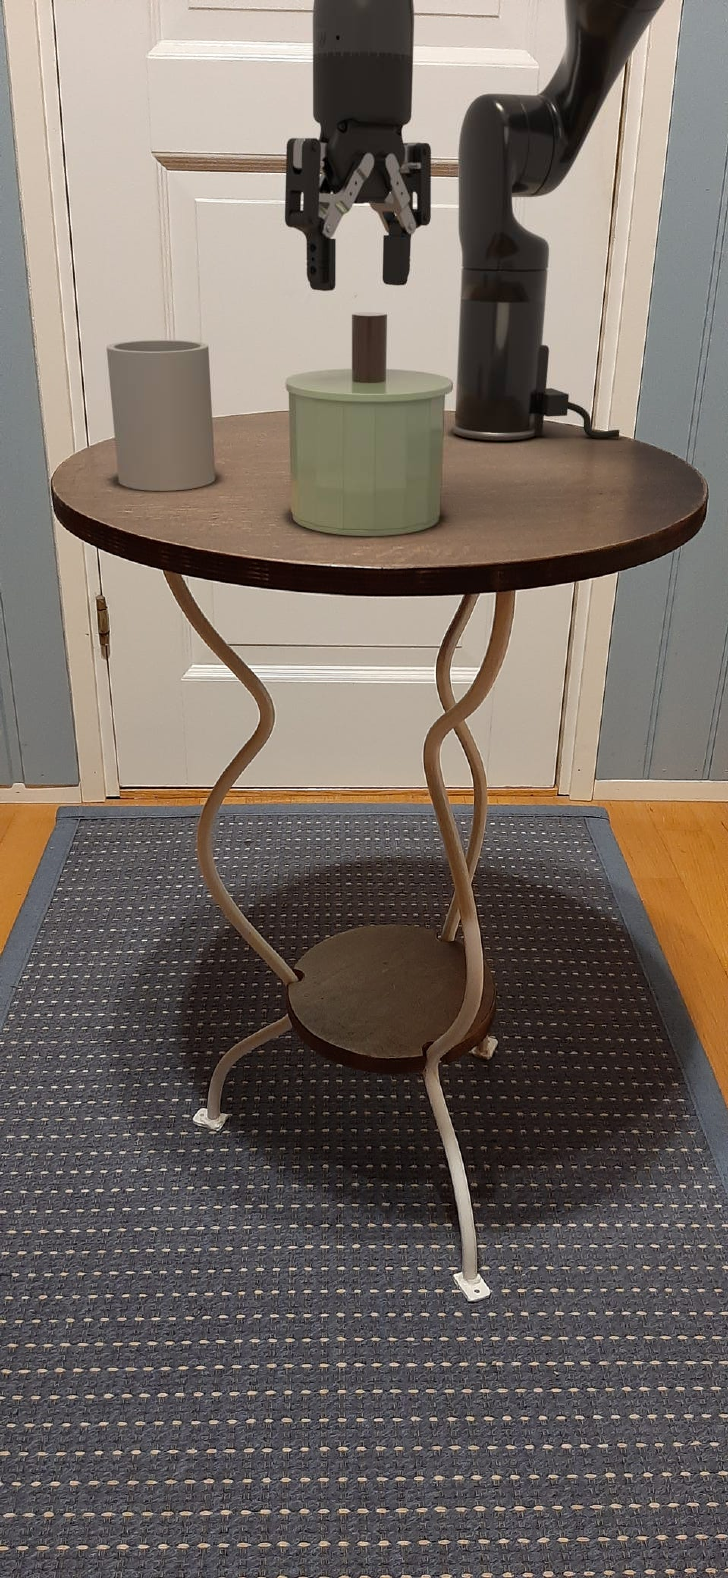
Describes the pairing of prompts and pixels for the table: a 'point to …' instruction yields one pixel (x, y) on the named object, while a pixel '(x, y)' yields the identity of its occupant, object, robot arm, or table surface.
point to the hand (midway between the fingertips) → (359, 287)
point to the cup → (162, 414)
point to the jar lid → (369, 372)
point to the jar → (366, 465)
